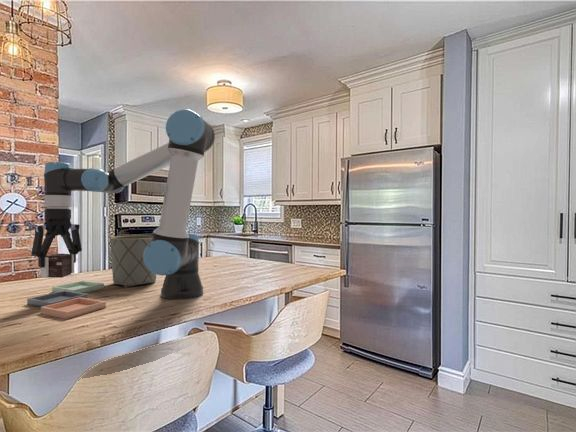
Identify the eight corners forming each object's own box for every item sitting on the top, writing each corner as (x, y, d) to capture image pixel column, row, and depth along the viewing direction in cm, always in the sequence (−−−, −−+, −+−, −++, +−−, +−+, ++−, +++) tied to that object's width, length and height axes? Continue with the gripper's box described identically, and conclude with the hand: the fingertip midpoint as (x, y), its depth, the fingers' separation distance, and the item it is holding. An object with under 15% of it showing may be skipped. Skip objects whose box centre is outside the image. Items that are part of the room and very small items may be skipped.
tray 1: (87, 299, 117) (87, 294, 117) (51, 309, 106) (51, 303, 106) (64, 295, 122) (64, 290, 122) (27, 304, 111) (27, 298, 111)
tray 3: (105, 307, 108) (105, 301, 108) (67, 319, 97) (67, 312, 97) (80, 303, 113) (80, 297, 113) (40, 313, 102) (40, 307, 102)
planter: (102, 283, 144) (102, 236, 143) (145, 276, 158) (145, 234, 158) (122, 290, 131) (122, 239, 131) (166, 282, 146) (166, 236, 146)
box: (42, 277, 111) (42, 255, 111) (54, 274, 117) (53, 253, 117) (61, 277, 111) (61, 255, 111) (72, 274, 117) (72, 253, 117)
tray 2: (104, 288, 134) (104, 283, 134) (73, 295, 123) (73, 290, 123) (83, 285, 139) (83, 280, 139) (52, 292, 128) (52, 286, 128)
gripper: (80, 208, 125) (79, 269, 125) (16, 207, 106) (16, 279, 106) (93, 208, 122) (93, 270, 122) (31, 207, 103) (31, 281, 103)
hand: (58, 274), depth 114 cm, fingers closed on box, 8 cm apart
